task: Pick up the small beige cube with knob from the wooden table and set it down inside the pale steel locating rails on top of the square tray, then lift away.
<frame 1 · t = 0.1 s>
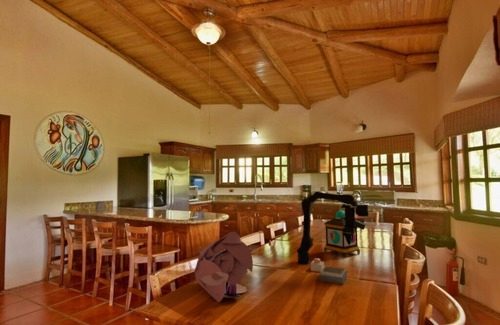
hand: (350, 243, 161), 15 cm above the table, fingers open, 9 cm apart
beige cube with knob: (317, 269, 159), on the table
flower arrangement: (224, 291, 128), on the table
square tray: (333, 279, 143), on the table
decorative lantern: (341, 253, 194), on the table
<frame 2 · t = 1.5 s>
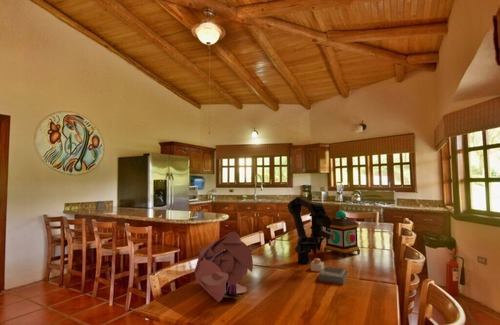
hand: (316, 252, 159), 10 cm above the table, fingers open, 9 cm apart
nothing on the table moved.
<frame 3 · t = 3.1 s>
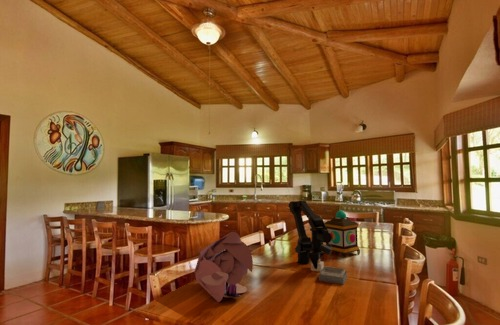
hand: (317, 267, 159), 1 cm above the table, fingers closed on beige cube with knob, 6 cm apart
beige cube with knob: (317, 269, 159), on the table, touching gripper
everything else where it was.
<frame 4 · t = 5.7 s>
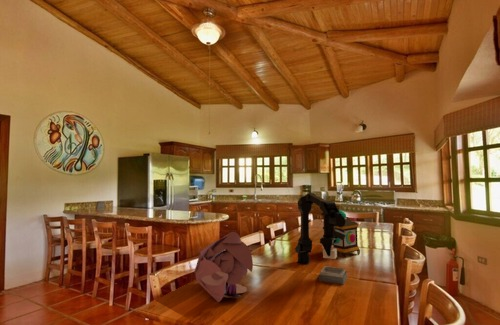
hand: (330, 254, 146), 12 cm above the table, fingers closed on beige cube with knob, 6 cm apart
beige cube with knob: (330, 257, 146), point 10 cm above the table, touching gripper
everything else where it was.
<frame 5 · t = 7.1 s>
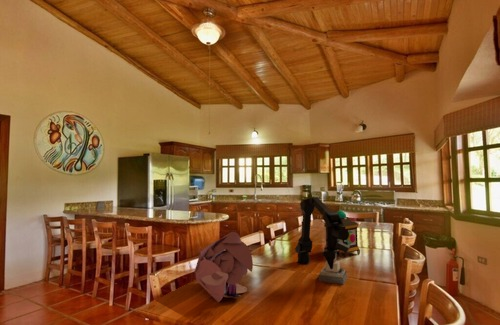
hand: (332, 267, 144), 6 cm above the table, fingers closed on beige cube with knob, 6 cm apart
beige cube with knob: (332, 269, 143), point 5 cm above the table, touching gripper
everything else where it was.
when the fingers open (5 cm above the table, at t = 8.1 s): beige cube with knob drops 1 cm, resting on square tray.
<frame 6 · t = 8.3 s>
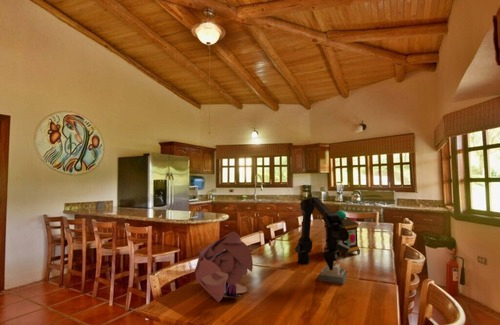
hand: (332, 268, 143), 5 cm above the table, fingers open, 8 cm apart
beige cube with knob: (332, 273, 143), point 3 cm above the table, touching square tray
everything else where it was.
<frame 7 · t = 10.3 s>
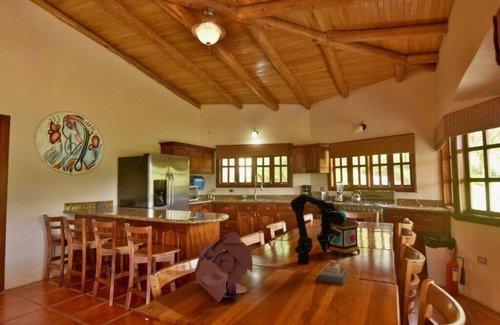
hand: (326, 250, 157), 12 cm above the table, fingers open, 9 cm apart
nothing on the table moved.
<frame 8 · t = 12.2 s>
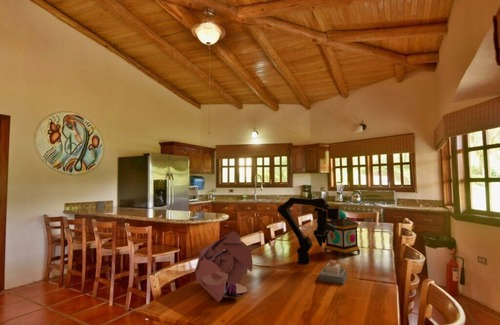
hand: (322, 244, 168), 12 cm above the table, fingers open, 9 cm apart
nothing on the table moved.
at the end: beige cube with knob 0.0 cm off-centre on the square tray, point 3.0 cm above the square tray's base; beige cube with knob tilted 0°; the gripper is holding nothing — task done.
